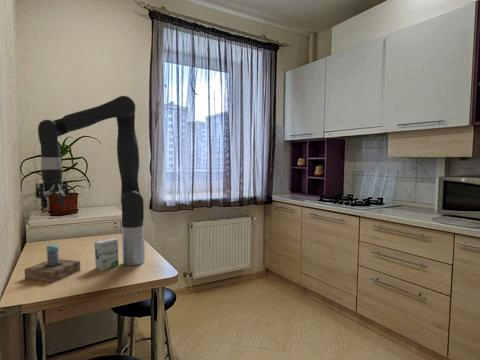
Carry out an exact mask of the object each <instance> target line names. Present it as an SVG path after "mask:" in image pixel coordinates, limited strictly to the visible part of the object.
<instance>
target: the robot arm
mask: <svg viewBox="0 0 480 360" xmlns="http://www.w3.org/2000/svg"><path fill="white" fill-rule="evenodd" d="M113 118H116V123H117V138H116V151H117V152H116V153H117V154H116V155H117V156H116V157H117V163H118V168H119V169H118V170H119V171H118V172H119V174H120V179H121V180H120V181H121V191H120V192H121V195H120V203H121V235H122V236H121V239H122V240H121V243H122V244H121V245H122V264H123V266H128V267H129V266H139V265H141V264H143V263H144V262H145V260H146V259H145V256H146V255H145V240H144V219H145V217H144V211H145V208H144V207H145V206H144V198H143V196H142V195H141V192H140V187H139V186H140V185H139V171H140V170H139V169H140V153H139V144H138V143H139V142H138V138H137V134H136V127H135V123H136V122H135V119H136V104H135V101H134V99H132V98H131V97H130V96H127V95H120V96H118V97H116V98H114V99H112V100H110V101H107V102H106V103H103V104H100V105H98V106H93V107H91V108H88V109H83V110H80V111H76V112H75V111H74V112H73V113H69V114H66V115H64V116H63V117H62V118H61V117H60V118H57V119H54V120H51V119H44V120H43V119H42V120H41V121H40V122H39V124H38V126H37V134H38V140H39V143H40V158H41V159H40V175H41V180H42V183H41V182H38V183H37V182H36V184H35V198H36V199H39V200H40V204H41V205H40V206H41V208H42V209H48V207H49V206H48V197H49V196H50V195H51V194H52V193H55V194H57V195H58V197H57V198H58V205H59V206H64V205H65V197H66V195H69V186H68V181H67V180H62V179H63V169H62V168H63V166H62V165H63V164H62V159H61V157H62V156H61V147H60V145H59V140H58V137H61V136H63V135H65V134H68V133H71V132H74V131H79V130H81V129H85V128H87V127H90V126H93V125H95V124H97V123H100V122H102V121H106V120H108V119H113Z"/></svg>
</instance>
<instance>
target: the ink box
mask: <svg viewBox="0 0 480 360" xmlns="http://www.w3.org/2000/svg"><path fill="white" fill-rule="evenodd" d="M118 243H119V242H118V239H116V238H107V239H104V240H100V241H94V255H95V256H94V257H95V269H97V270H99V271H103V270H107V269H111V268H114V267H117V266H120V264H119V246H118V245H119V244H118Z"/></svg>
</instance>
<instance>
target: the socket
mask: <svg viewBox="0 0 480 360" xmlns="http://www.w3.org/2000/svg"><path fill="white" fill-rule="evenodd" d="M80 271H81V260H80V261H79V260H71V259H64V258H62V259H61V258H59V266H57V267H54V268H50V267H48V260H46V261H44V262H43V261H42V262H40V263H38V264H34V265H32V266H29V267H26V268H24V280H30V279H31V280H32V281H38V282H44V283H45V282H46V283H55V282H57V281H60V280H62V279H64V278H67V277H69V276H71V275H73V274H75V273H77V272H80ZM31 280H30V281H31Z"/></svg>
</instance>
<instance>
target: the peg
mask: <svg viewBox="0 0 480 360" xmlns="http://www.w3.org/2000/svg"><path fill="white" fill-rule="evenodd" d="M46 257H47V260H46V261H48V267H50V268H54V267H57V266H59V259H60V257H59V244H50V245H47V246H46Z"/></svg>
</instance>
